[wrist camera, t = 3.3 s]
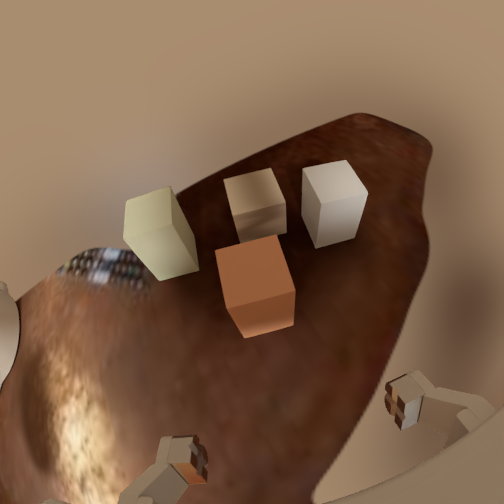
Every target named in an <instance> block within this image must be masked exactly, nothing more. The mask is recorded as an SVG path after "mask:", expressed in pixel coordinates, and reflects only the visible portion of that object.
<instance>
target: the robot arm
mask: <svg viewBox="0 0 504 504" xmlns="http://www.w3.org/2000/svg"><path fill="white" fill-rule="evenodd" d="M18 340H19V314H18V309H17V306H16V303H15V301H14V300H13V298H12V297H11V296H10V295H9V294H8V289H7V285H6V284H5V283H4V282H0V389H1V385H2V382H3V381H4V379H5V378H6V376H7V375H8V373H9V371H10V369H11V367H12V365H13V362H14V359H15V355H16V351H17V346H18ZM385 390H386V391H387V394H386V395H385V405H386V408H387V410H388V412H389V414H390V415H393V416H395V423H396V424H397V425H398V427H399V428H400V430H403V429H405V428H407V427H409V426H411V425H413V424H415V423H417V422H418V424H420V425H423V426H425V427H427V428H430V429H432V430H435V431H437V432H440V433H442V434H445V435H447V436H448V439H447V442H446V444H445V446H444V450H442V451H441V452H439V453H438V454H436V455H434V456H432V457H431V458H429V459H427V460H426V461H424V462H422V463H420V464H418V465H417V466H415V467H413V468H411V469H409V470H407V471H405V472H403V473H401V474H399V475H397V476H395V477H393V478H391V479H388V480H386V481H384V482H382V483H379V484H377V485H375V486H372V487H370V488H367V489H365V490H362V491H359V492H357V493H354V494H351V495H348V496H345V497H343V498H339V499H337V500H333V501H330V502H327V503H323V504H504V404H503V405H502V406H501V407H500V408H499V409H498V410H497V411H496V410H495V409H494V408H493V407H492V406H491V405H490V404H489V403H488V402H487V401H486V400H485V399H484V398H483V397H481V396H479V395H473V394H468V393H463V392H459V391H454V390H449V389H445V388H441V387H438V388H435V387H434V386H433V385H432V384H431V383H430V382H429V380H428V379H427V378H426V377H424V375H423V374H422V373H421V372H420V371H419V370H417V369H415V370H413V371H411V372H409V373H407V374H404V375H402V376H400V377H398V378H396V379H394V380H392V381H390V382H388V383H386V385H385ZM207 464H208V456H207V452H206V449H205V447H204V446H203V445H202V444H200V443H199V438H198V437H197V435H184V436H169V437H162V438H161V440H160V444H159V449H158V453H157V458H156V463H155V464H152V465H151V466H150V467H149V468H148V469H147V470H146V471H145V472H144V473H142V474H141V475H140V476H139V477H138V478H137V479H136V480H135V481H134V482H133V483H132V484H130V485H129V486H128V487H127V488H126V489H125V490H124V491H123V492H121V493H120V497H119V501H118V504H175V503H176V502H177V501H178V499H179V498H180V497H181V495H182V494H183V493H184V491H185V490H186V489H187V487H188V486H189V485H188V484H202V483H207V473H208V471H207V470H206V469H205V466H206V465H207ZM41 504H70V503H67V502H64V501H61V500H58V499H49V500H46V501H44V502H43V503H41Z"/></svg>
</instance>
